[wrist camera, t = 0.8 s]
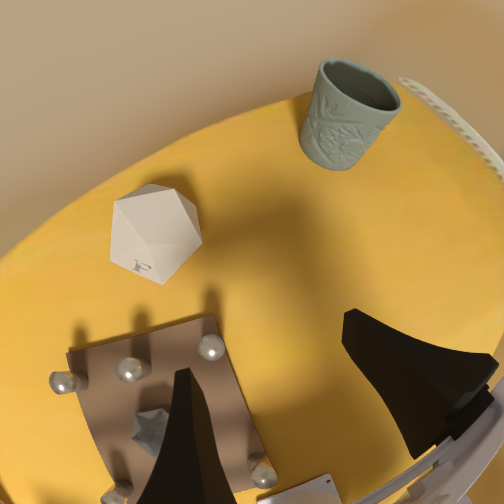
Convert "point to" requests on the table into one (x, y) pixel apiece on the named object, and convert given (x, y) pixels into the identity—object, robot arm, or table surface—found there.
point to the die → (154, 232)
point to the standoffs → (141, 368)
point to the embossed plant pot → (346, 113)
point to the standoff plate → (163, 401)
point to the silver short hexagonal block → (150, 428)
